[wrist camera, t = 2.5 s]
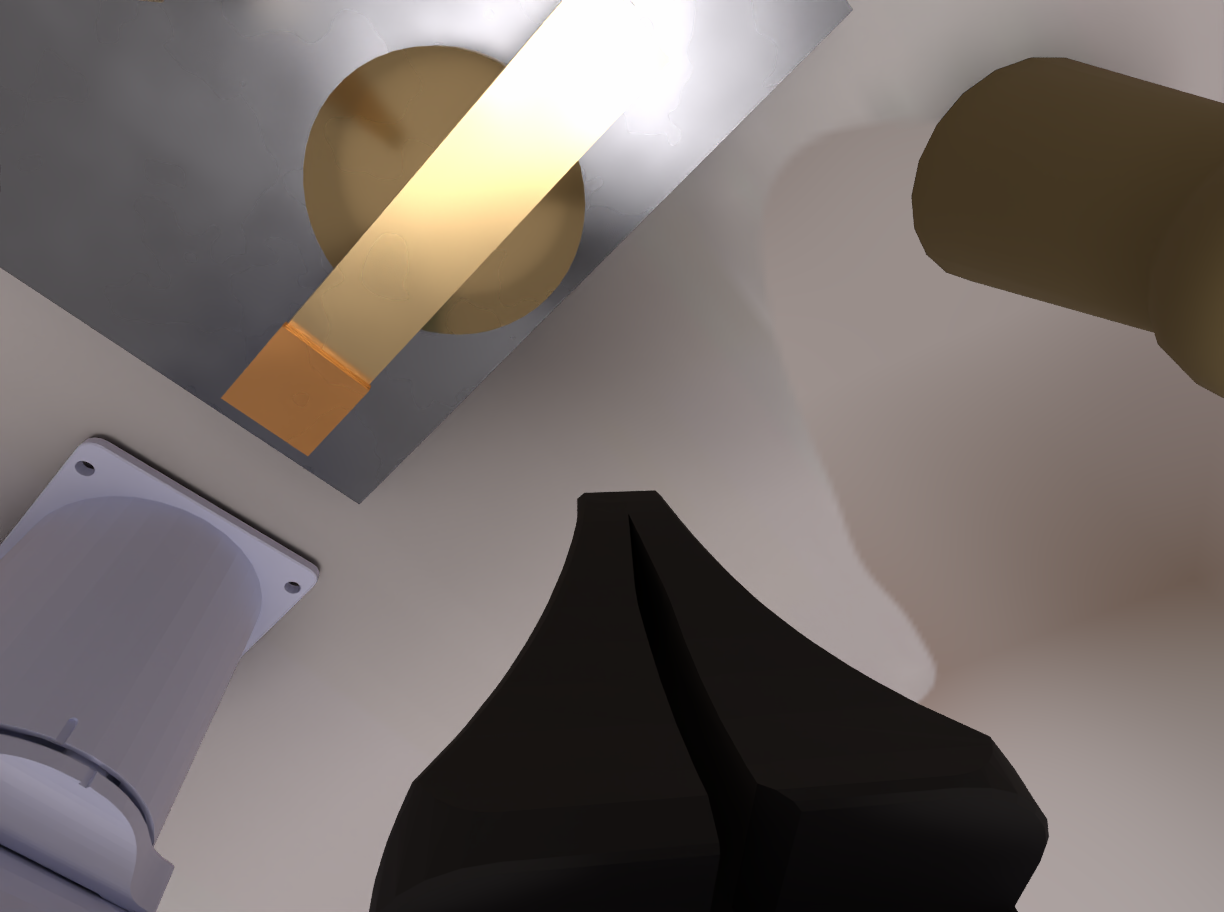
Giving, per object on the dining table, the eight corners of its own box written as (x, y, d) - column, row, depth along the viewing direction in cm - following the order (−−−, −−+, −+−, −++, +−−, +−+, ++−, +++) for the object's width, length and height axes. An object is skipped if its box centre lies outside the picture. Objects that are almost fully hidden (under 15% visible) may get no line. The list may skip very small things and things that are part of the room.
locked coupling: (693, 127, 17) (752, 160, 12) (421, 406, 20) (391, 512, 15) (499, -108, 14) (488, -172, 10) (220, 252, 17) (114, 326, 13)
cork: (919, 77, 19) (1321, 117, 9) (1142, 37, 19) (1766, 37, 9) (904, 298, 22) (1194, 496, 12) (1097, 262, 22) (1530, 433, 12)
